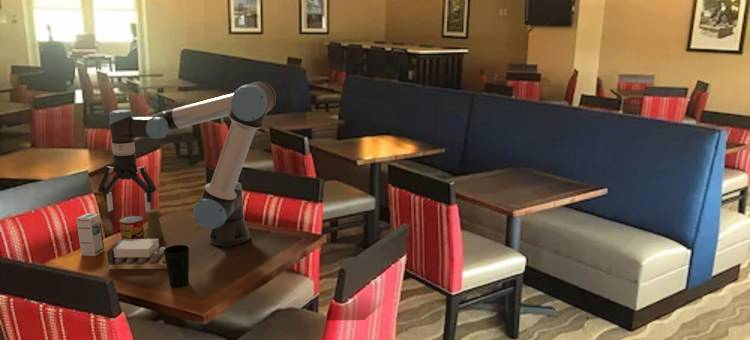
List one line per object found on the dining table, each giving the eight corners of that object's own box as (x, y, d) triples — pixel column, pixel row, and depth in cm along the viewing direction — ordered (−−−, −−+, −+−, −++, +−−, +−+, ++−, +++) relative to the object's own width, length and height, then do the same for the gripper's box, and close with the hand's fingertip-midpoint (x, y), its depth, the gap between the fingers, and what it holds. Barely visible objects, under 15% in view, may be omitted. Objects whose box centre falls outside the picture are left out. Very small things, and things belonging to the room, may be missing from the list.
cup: (170, 279, 201) (167, 245, 198) (194, 278, 202) (191, 244, 199) (164, 289, 193) (161, 254, 191) (189, 288, 194) (186, 253, 191)
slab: (159, 246, 220) (158, 238, 219) (149, 257, 210) (148, 248, 209) (125, 247, 220) (124, 239, 219) (114, 257, 210) (113, 249, 209)
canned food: (118, 251, 226) (115, 220, 224) (137, 244, 233) (134, 214, 230) (131, 255, 222) (128, 223, 219) (150, 248, 228) (147, 218, 226)
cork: (166, 236, 242) (164, 209, 239) (153, 240, 237) (151, 213, 234) (156, 233, 245) (154, 207, 242) (143, 237, 240) (141, 211, 238)
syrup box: (95, 256, 221) (90, 218, 218) (80, 255, 222) (75, 217, 219) (105, 251, 227) (100, 213, 223) (90, 250, 228) (86, 212, 224)
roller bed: (183, 255, 222) (182, 238, 220) (173, 268, 210) (171, 250, 209) (122, 256, 222) (120, 239, 220) (108, 269, 210) (106, 251, 208)
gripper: (84, 155, 215) (90, 213, 220) (155, 156, 215) (160, 213, 220) (93, 151, 222) (99, 207, 227) (162, 151, 223) (167, 207, 228)
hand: (129, 210), depth 224 cm, fingers open, 13 cm apart
